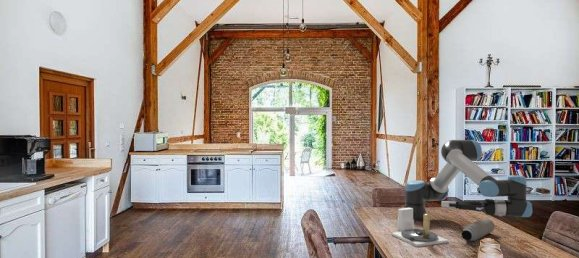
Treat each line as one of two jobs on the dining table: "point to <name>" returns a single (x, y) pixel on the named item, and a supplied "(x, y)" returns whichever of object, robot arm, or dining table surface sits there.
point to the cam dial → (421, 231)
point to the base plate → (419, 243)
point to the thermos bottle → (478, 229)
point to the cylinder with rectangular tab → (405, 219)
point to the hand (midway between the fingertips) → (441, 204)
